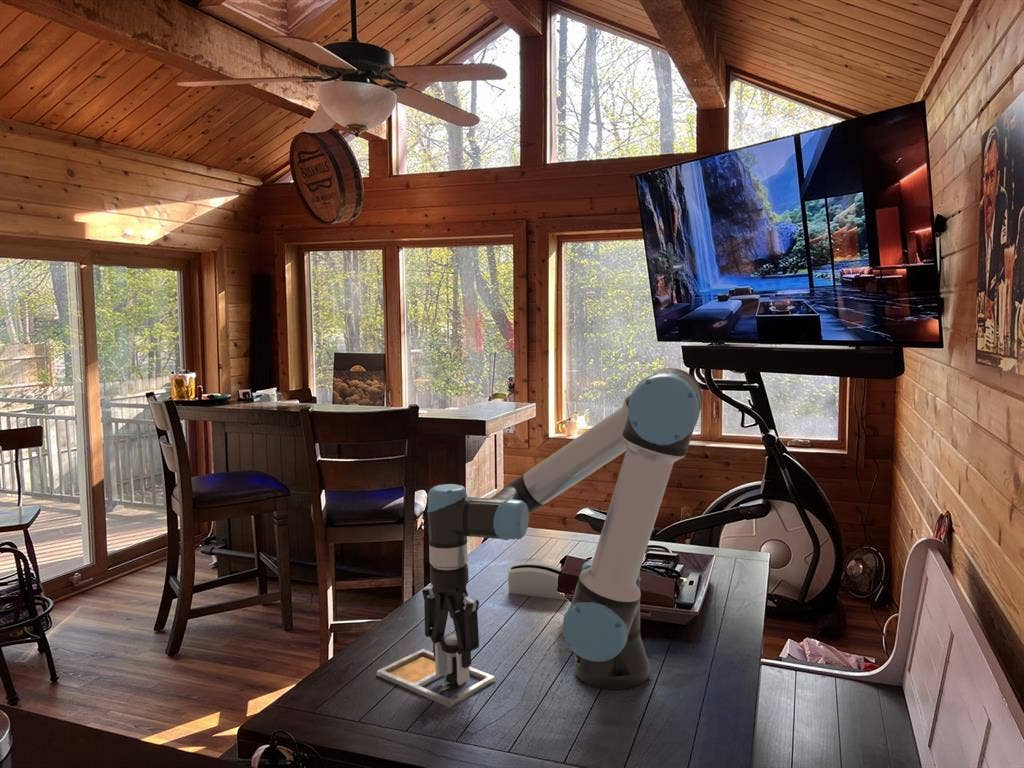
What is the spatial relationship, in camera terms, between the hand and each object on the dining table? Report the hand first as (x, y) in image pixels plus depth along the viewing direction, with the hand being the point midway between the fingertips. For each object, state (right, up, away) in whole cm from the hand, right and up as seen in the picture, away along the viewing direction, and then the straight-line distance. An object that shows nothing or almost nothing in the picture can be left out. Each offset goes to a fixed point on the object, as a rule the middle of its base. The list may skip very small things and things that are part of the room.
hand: (452, 676), depth 153 cm
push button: (0, -2, 0) cm, 2 cm away
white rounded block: (+19, +3, +48) cm, 51 cm away
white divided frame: (-4, -2, +3) cm, 5 cm away
